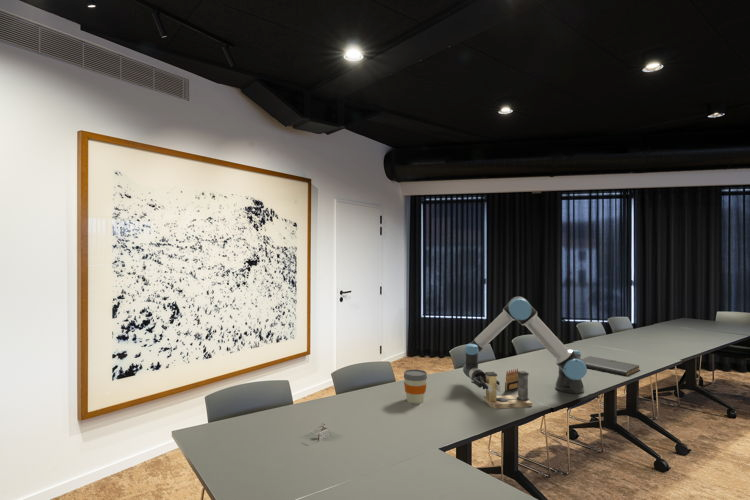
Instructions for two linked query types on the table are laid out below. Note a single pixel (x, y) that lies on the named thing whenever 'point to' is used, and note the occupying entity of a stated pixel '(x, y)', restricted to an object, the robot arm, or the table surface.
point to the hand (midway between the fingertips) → (495, 389)
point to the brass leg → (492, 382)
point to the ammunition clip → (511, 380)
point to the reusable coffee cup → (415, 385)
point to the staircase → (322, 432)
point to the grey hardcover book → (610, 366)
